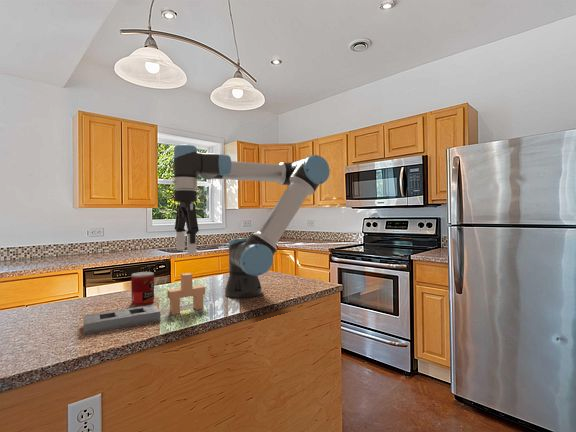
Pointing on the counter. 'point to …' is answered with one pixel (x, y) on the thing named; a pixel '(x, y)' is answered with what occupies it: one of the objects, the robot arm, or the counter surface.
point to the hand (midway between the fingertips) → (185, 251)
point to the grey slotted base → (120, 319)
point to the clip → (186, 294)
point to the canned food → (142, 288)
